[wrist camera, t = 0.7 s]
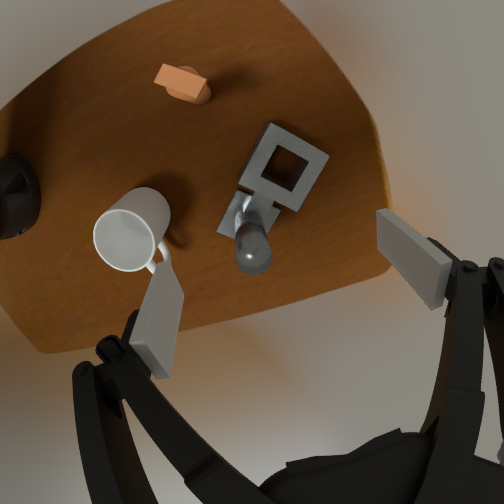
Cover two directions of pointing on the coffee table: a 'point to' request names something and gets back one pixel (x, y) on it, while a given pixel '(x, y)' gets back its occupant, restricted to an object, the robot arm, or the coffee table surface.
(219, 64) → the coffee table surface
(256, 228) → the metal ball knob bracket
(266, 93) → the coffee table surface
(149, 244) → the cup
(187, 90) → the wedge pin
